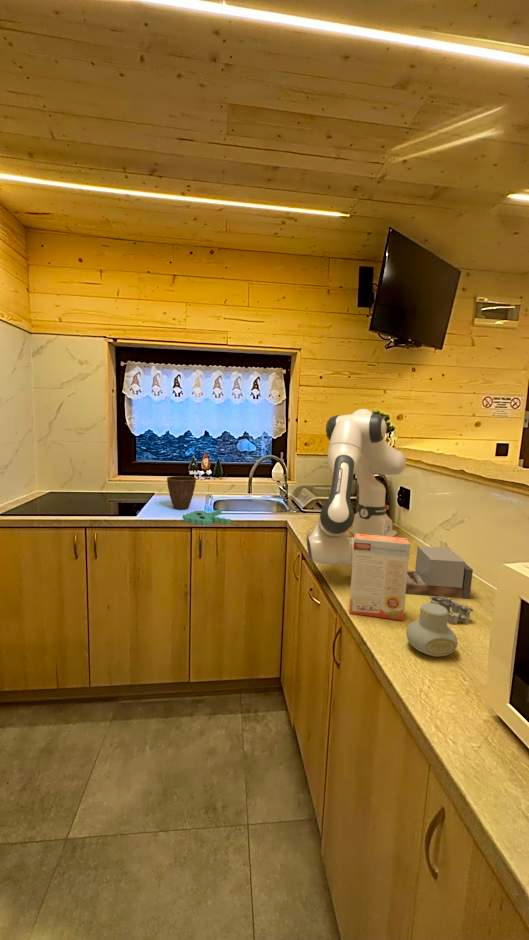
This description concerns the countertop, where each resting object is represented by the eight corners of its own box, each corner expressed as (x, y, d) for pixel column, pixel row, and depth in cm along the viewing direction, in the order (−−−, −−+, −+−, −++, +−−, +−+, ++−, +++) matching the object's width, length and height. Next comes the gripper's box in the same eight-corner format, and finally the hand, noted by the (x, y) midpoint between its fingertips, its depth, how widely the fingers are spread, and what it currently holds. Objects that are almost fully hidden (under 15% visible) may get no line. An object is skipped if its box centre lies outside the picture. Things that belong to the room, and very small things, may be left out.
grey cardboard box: (427, 585, 127) (430, 559, 126) (415, 569, 140) (417, 545, 139) (462, 587, 126) (465, 561, 125) (446, 571, 139) (448, 547, 138)
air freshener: (415, 660, 93) (419, 617, 92) (399, 640, 101) (403, 600, 100) (462, 659, 94) (467, 616, 93) (443, 639, 103) (447, 600, 101)
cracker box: (401, 611, 116) (408, 537, 113) (403, 621, 110) (410, 543, 108) (349, 604, 119) (354, 531, 116) (348, 613, 113) (354, 537, 111)
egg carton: (473, 624, 111) (475, 610, 111) (447, 625, 110) (448, 610, 110) (450, 606, 122) (451, 592, 121) (425, 606, 121) (427, 593, 120)
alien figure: (220, 514, 217) (180, 515, 209) (220, 510, 216) (180, 511, 209) (231, 524, 198) (188, 526, 191) (231, 519, 198) (188, 522, 191)
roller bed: (392, 593, 128) (395, 564, 127) (383, 577, 141) (385, 550, 140) (469, 598, 127) (472, 569, 126) (452, 581, 140) (455, 555, 138)
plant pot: (160, 507, 223) (160, 477, 220) (183, 503, 234) (183, 475, 232) (178, 513, 213) (179, 481, 211) (201, 508, 224) (202, 478, 222)
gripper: (365, 553, 123) (414, 556, 122) (354, 532, 143) (396, 535, 143) (363, 574, 124) (412, 577, 123) (353, 550, 144) (394, 553, 143)
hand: (403, 554), depth 133 cm, fingers closed
